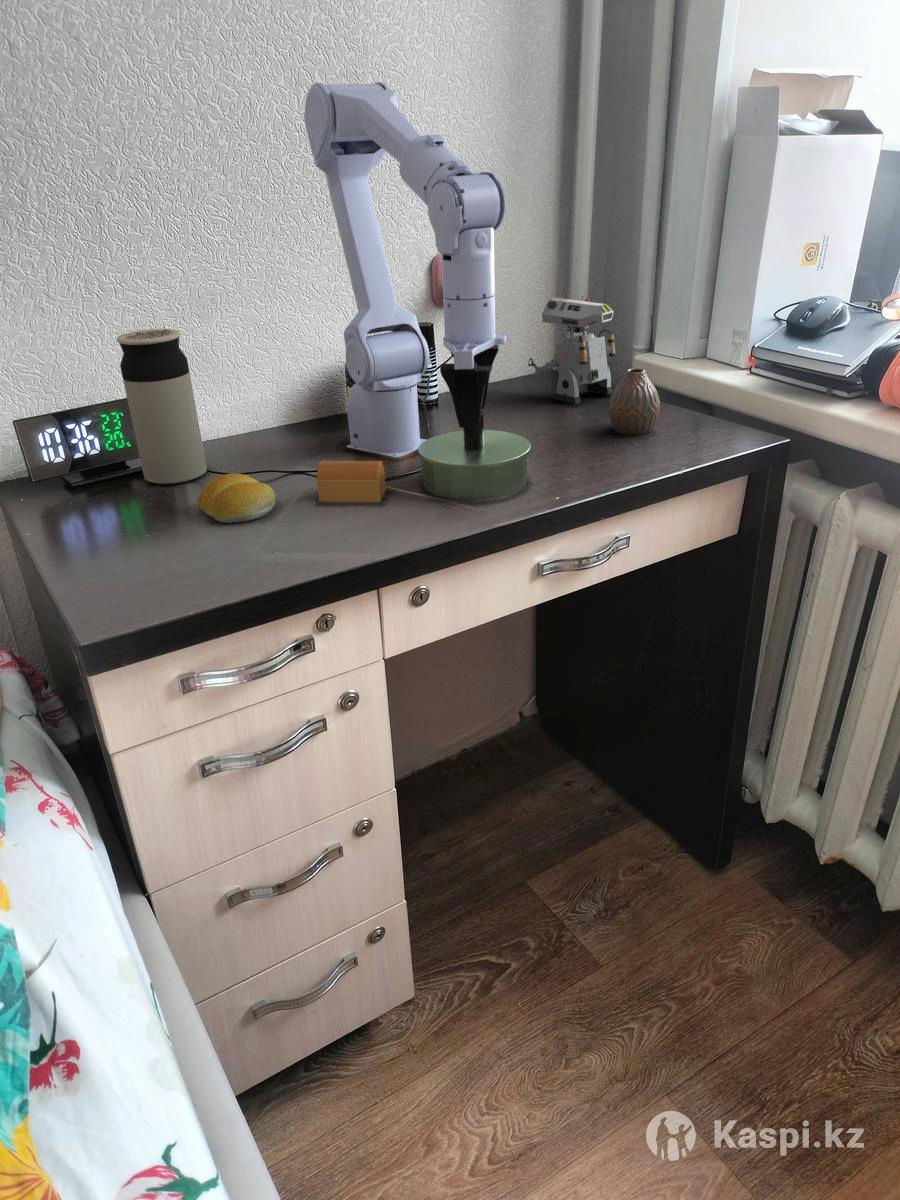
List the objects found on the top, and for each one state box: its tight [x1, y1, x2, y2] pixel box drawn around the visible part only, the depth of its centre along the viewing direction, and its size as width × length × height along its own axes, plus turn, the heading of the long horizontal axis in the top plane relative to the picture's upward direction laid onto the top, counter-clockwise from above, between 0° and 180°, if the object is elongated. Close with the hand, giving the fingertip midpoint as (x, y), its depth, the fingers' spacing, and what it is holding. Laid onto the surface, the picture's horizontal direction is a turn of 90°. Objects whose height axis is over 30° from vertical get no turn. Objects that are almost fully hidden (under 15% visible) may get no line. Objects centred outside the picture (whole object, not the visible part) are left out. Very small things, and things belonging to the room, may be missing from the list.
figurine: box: [527, 297, 617, 405], centre depth 136 cm, size 9×12×15 cm
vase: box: [608, 367, 661, 436], centre depth 119 cm, size 7×7×9 cm
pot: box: [421, 455, 528, 501], centre depth 105 cm, size 12×12×4 cm
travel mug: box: [116, 328, 208, 485], centre depth 110 cm, size 8×8×18 cm
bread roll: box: [197, 472, 276, 524], centre depth 101 cm, size 8×9×4 cm
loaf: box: [316, 460, 387, 503], centre depth 103 cm, size 7×4×4 cm, turn 83°
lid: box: [417, 411, 531, 469], centre depth 103 cm, size 13×13×5 cm
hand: (472, 417), depth 102 cm, fingers open, 7 cm apart
